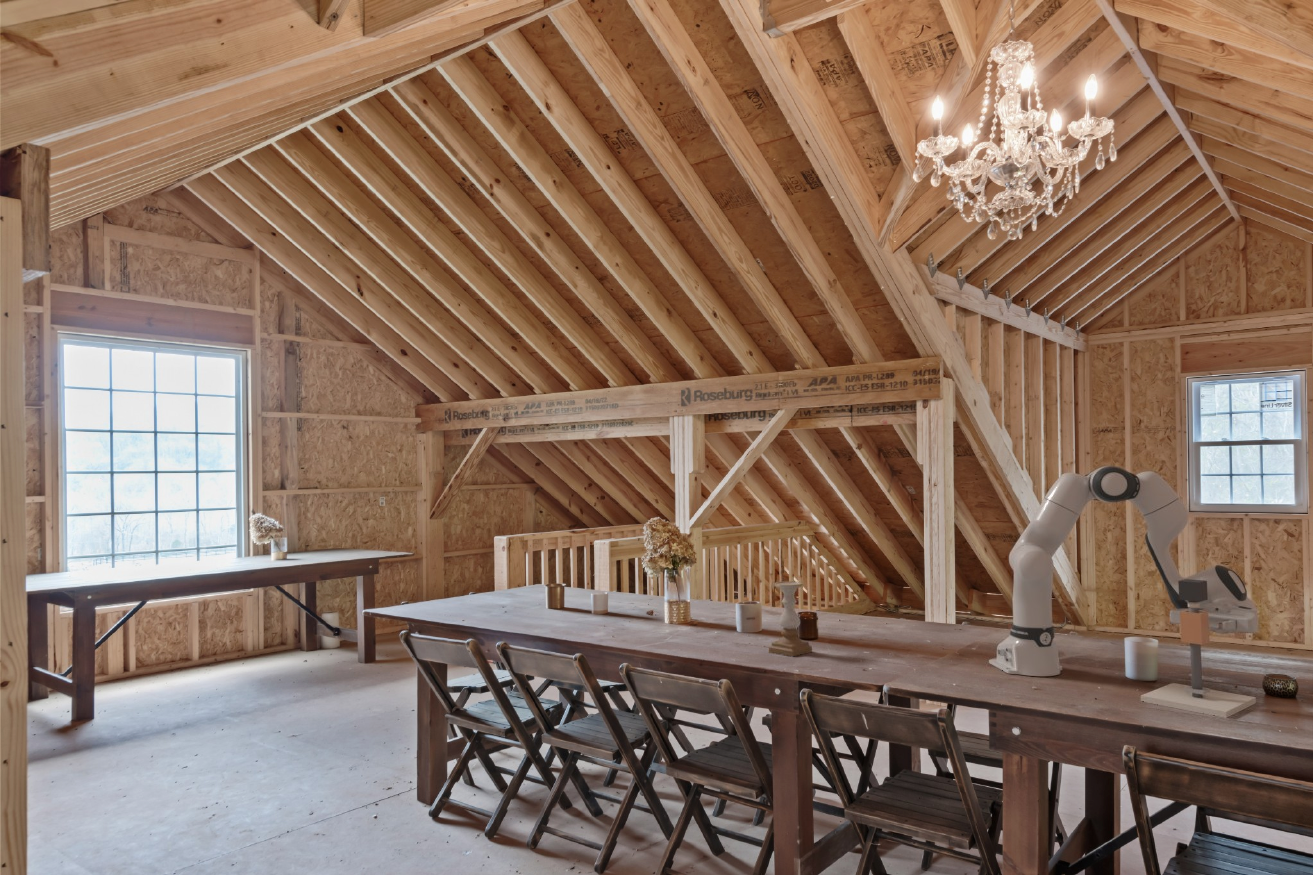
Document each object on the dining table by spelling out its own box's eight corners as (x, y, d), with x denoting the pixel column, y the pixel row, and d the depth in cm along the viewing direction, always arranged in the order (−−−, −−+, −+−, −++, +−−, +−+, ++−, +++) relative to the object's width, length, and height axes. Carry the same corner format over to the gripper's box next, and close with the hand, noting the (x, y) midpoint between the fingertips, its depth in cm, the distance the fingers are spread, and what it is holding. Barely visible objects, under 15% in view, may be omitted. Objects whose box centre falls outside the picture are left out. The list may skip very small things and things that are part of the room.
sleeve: (1180, 641, 225) (1179, 611, 225) (1188, 639, 228) (1187, 609, 228) (1201, 644, 221) (1200, 613, 221) (1209, 641, 224) (1208, 611, 224)
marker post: (1140, 701, 226) (1135, 580, 227) (1172, 688, 238) (1168, 573, 239) (1226, 717, 210) (1220, 588, 211) (1255, 703, 222) (1250, 580, 223)
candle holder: (793, 657, 286) (791, 586, 287) (768, 652, 294) (766, 583, 295) (812, 651, 294) (810, 582, 294) (787, 647, 302) (786, 580, 302)
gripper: (1180, 601, 244) (1159, 607, 235) (1263, 609, 227) (1244, 616, 219) (1181, 623, 243) (1160, 630, 235) (1265, 633, 227) (1245, 640, 219)
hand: (1201, 623), depth 227 cm, fingers open, 8 cm apart
